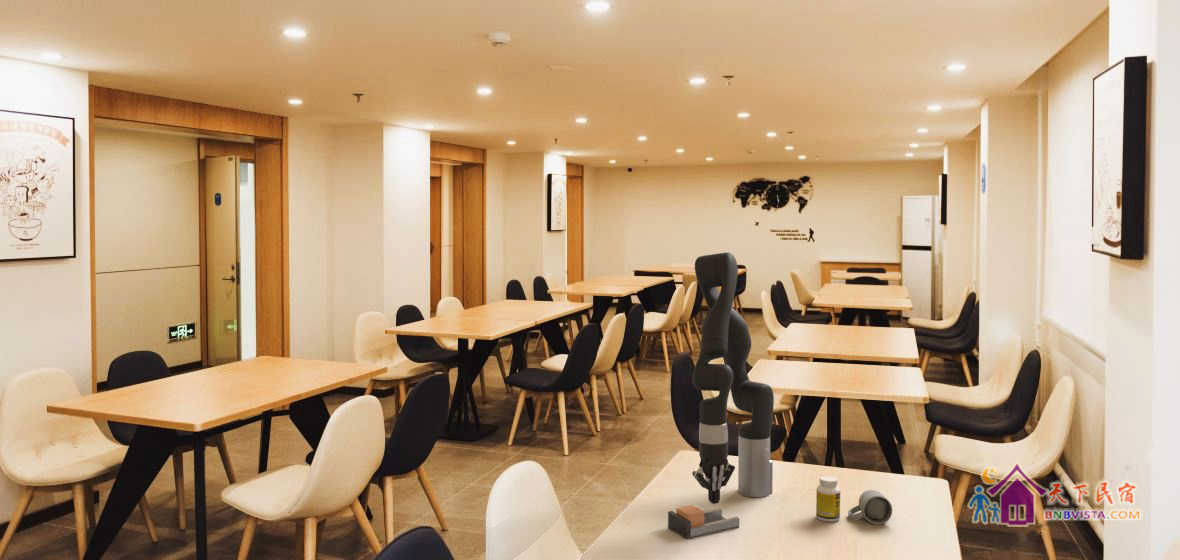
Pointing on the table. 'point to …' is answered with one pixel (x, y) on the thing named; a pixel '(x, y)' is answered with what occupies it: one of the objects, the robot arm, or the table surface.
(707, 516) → the chute
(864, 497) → the ceramic mug
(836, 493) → the pill bottle
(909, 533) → the table surface
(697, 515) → the block
